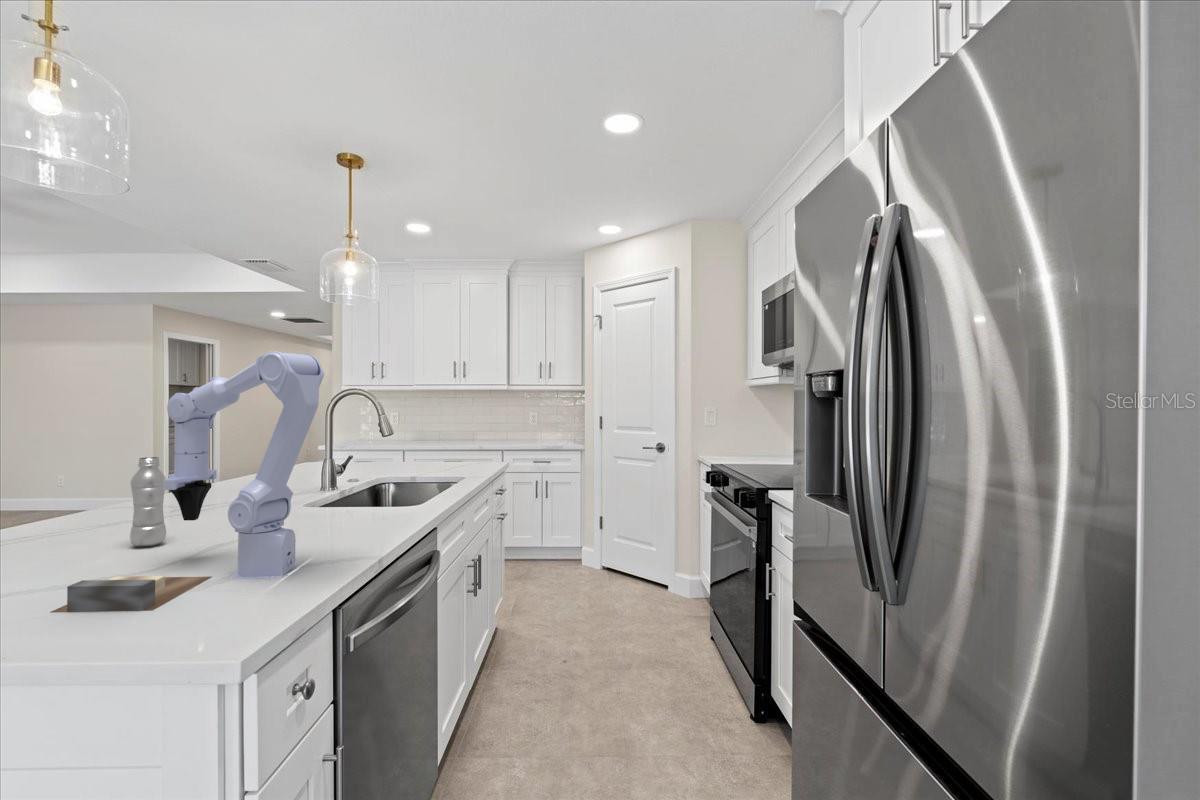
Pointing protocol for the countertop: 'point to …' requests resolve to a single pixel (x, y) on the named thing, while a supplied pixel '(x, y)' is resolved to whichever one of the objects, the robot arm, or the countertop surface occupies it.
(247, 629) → the countertop surface
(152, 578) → the cream wooden block
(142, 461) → the plastic bottle
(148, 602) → the board
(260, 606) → the countertop surface
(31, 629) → the countertop surface
